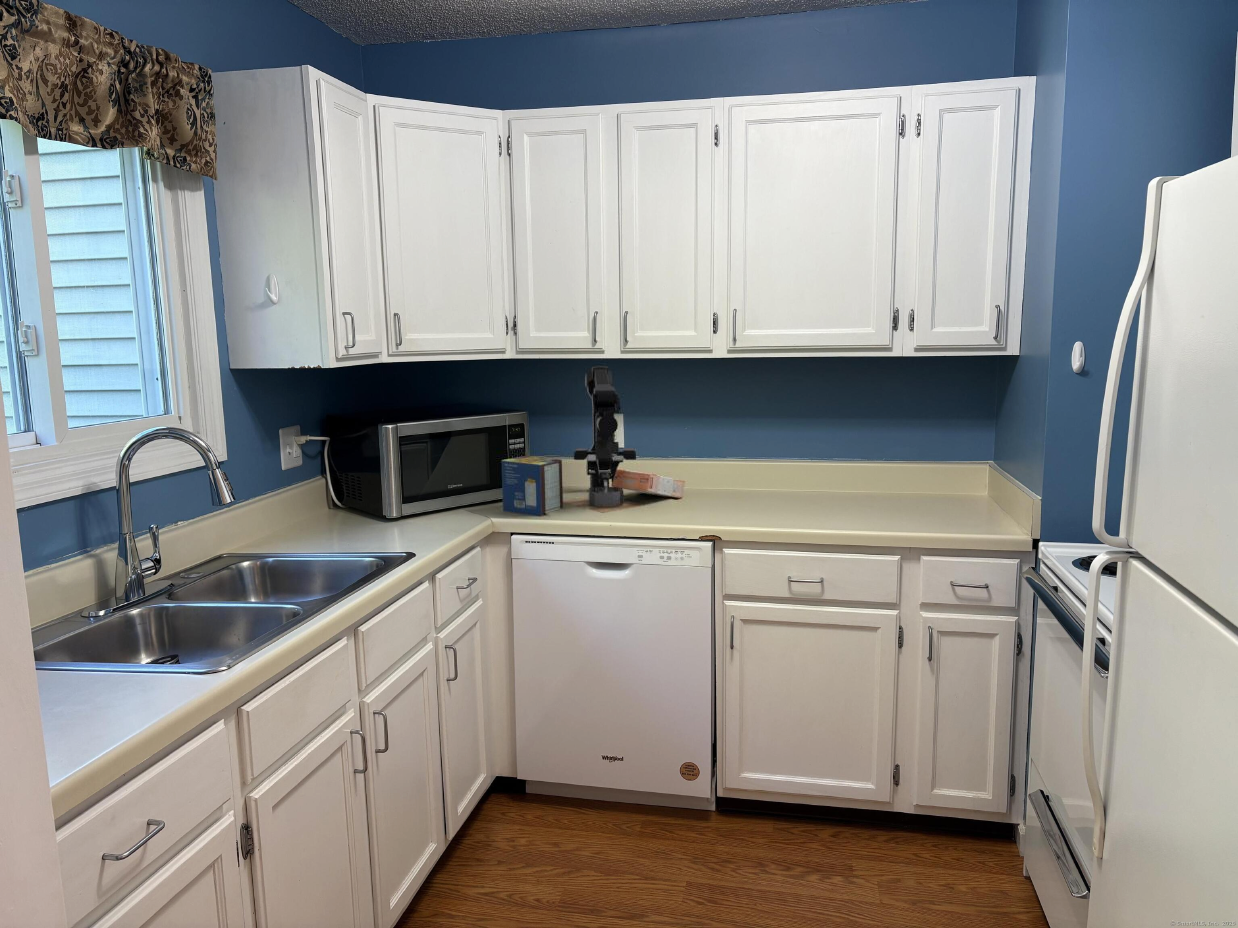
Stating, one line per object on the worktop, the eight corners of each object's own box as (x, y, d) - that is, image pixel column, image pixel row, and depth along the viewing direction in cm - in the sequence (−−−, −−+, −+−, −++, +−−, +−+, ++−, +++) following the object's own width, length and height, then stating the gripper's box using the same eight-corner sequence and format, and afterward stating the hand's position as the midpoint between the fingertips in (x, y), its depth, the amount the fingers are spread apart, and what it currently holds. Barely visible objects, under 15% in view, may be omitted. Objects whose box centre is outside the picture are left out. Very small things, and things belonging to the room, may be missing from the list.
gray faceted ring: (577, 502, 265) (577, 488, 265) (604, 498, 271) (604, 484, 271) (602, 509, 255) (602, 494, 254) (629, 504, 261) (629, 490, 261)
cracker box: (685, 480, 276) (650, 473, 259) (682, 498, 275) (647, 492, 258) (649, 475, 284) (613, 468, 267) (646, 493, 283) (610, 487, 266)
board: (560, 503, 268) (560, 501, 268) (601, 497, 277) (601, 495, 277) (602, 515, 250) (602, 512, 250) (644, 508, 260) (644, 505, 260)
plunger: (590, 494, 262) (590, 472, 261) (608, 492, 266) (607, 470, 265) (603, 497, 257) (603, 475, 256) (621, 495, 261) (620, 473, 260)
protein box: (524, 505, 267) (523, 455, 264) (563, 510, 258) (562, 459, 256) (501, 511, 258) (500, 460, 256) (541, 516, 250) (540, 464, 247)
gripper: (571, 434, 251) (572, 486, 254) (635, 434, 251) (635, 486, 253) (575, 430, 262) (576, 480, 265) (636, 430, 262) (636, 480, 264)
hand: (605, 482), depth 261 cm, fingers closed on plunger, 4 cm apart
